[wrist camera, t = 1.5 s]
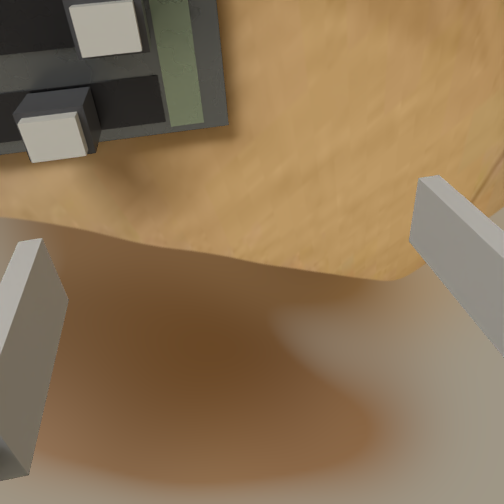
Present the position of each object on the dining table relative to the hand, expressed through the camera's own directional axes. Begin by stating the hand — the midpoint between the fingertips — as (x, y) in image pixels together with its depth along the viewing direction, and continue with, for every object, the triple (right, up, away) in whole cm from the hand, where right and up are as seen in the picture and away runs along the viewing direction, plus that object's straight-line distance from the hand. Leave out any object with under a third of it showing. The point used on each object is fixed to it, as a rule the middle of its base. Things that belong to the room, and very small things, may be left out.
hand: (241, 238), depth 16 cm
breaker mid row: (-8, +14, +12) cm, 20 cm away
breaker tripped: (-12, +9, +15) cm, 21 cm away
